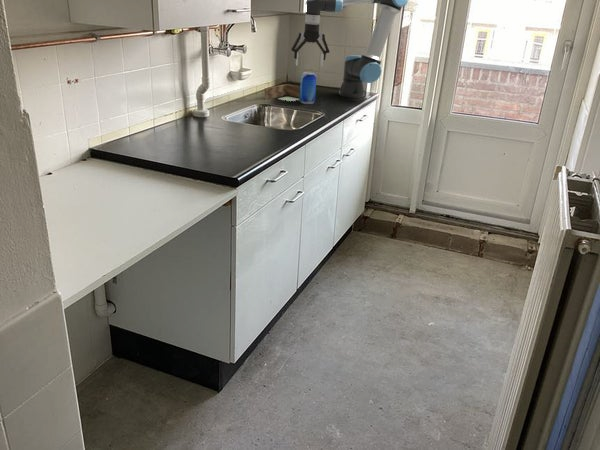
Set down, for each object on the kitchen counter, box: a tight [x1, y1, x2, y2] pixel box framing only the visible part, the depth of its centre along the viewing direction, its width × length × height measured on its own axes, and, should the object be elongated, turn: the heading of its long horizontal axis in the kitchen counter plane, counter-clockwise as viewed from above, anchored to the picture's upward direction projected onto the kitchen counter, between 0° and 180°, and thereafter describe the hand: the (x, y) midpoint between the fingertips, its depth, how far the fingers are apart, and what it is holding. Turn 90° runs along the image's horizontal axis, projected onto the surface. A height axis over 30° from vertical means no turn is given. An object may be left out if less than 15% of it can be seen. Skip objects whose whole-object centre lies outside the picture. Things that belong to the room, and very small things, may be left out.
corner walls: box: [263, 83, 300, 101], centre depth 296 cm, size 20×16×6 cm
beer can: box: [299, 71, 317, 105], centre depth 289 cm, size 8×8×16 cm
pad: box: [277, 95, 300, 103], centre depth 298 cm, size 9×9×1 cm
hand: (309, 65), depth 284 cm, fingers open, 13 cm apart
